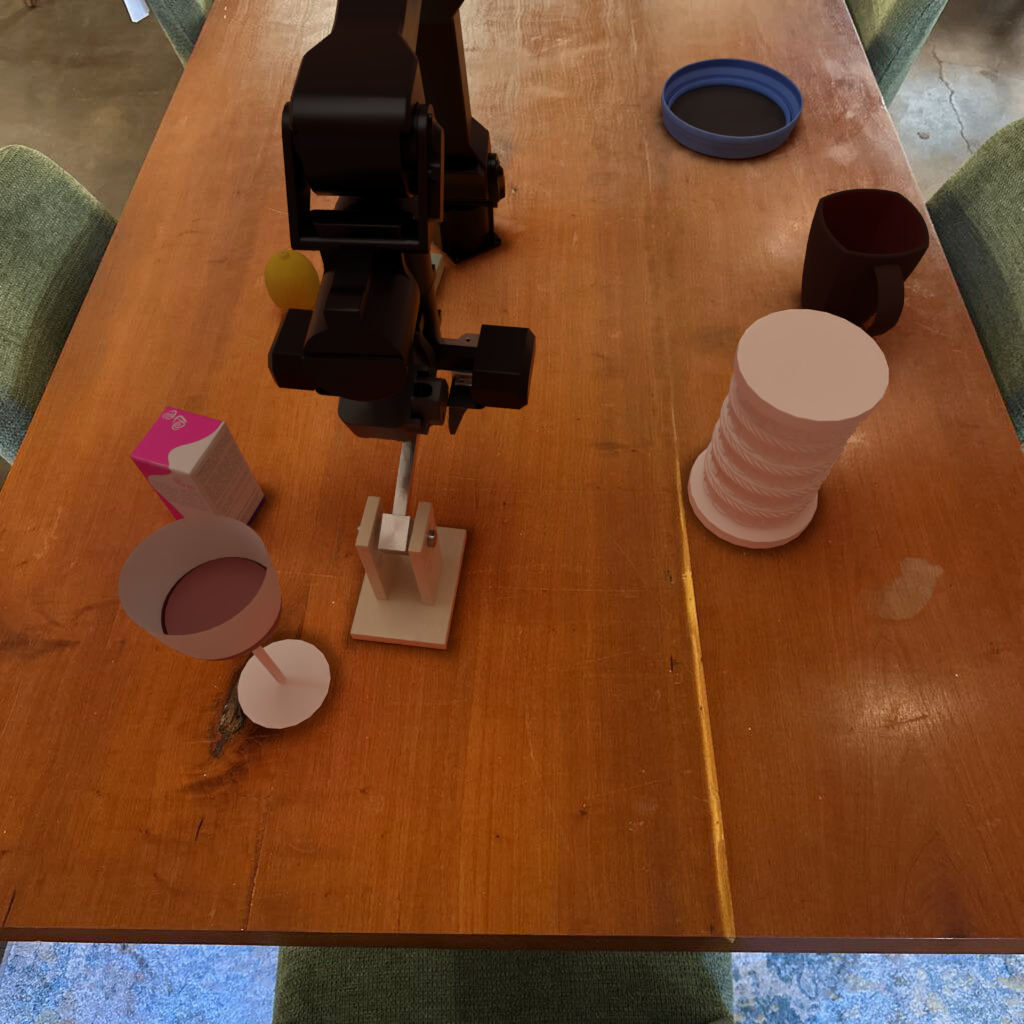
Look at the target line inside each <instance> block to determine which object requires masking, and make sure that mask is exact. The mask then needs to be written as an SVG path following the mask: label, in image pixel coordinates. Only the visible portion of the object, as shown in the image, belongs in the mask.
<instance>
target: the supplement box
mask: <svg viewBox="0 0 1024 1024" xmlns="http://www.w3.org/2000/svg"><path fill="white" fill-rule="evenodd" d="M129 458H130V459H131V461H132V462H133V463H134V465H135V466H136V467H137V470H139V472H140V473H141V474H142V476H143V477H144V478H145V480H146V481H147V482H148V484H149V485H150V486H151V488H152V489H153V491H154V492H155V493H156V495H157V496H158V497H159V499H160V500H161V501H162V503H163V504H164V505H165V507H166V508H167V509H168V511H169V512H170V514H171V515H172V516H173V518H174V519H175V521H177V520H179V519H183V518H187V517H191V516H198V515H219V516H226V517H230V518H233V519H236V520H238V521H241V522H243V523H244V524H246V525H247V526H249V527H250V525H251V523H252V522H253V520H254V518H255V517H256V515H257V513H258V512H259V510H260V508H261V507H262V505H263V504H264V502H265V500H266V496H265V495H264V492H263V491H262V488H261V487H260V484H259V482H258V481H257V479H256V477H255V476H254V473H253V471H252V470H251V468H250V466H249V464H248V462H247V460H246V459H245V456H244V454H243V453H242V451H241V449H240V447H239V445H238V443H237V441H236V440H235V437H234V436H233V434H232V432H231V430H230V428H229V427H228V424H227V422H226V421H223V420H220V419H216V418H213V417H210V416H206V415H201V414H198V413H194V412H191V411H187V410H185V409H184V410H183V409H180V408H176V407H172V406H168V405H167V406H166V407H165V409H164V410H163V411H162V412H161V413H160V415H159V416H158V418H157V419H156V421H155V422H154V423H153V424H152V426H151V428H150V429H149V430H148V431H147V432H146V434H145V435H144V437H143V438H142V439H141V440H140V442H139V443H138V444H137V445H136V446H135V448H134V449H133V450H132V452H131V453H130V454H129Z"/></svg>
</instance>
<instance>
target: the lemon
mask: <svg viewBox="0 0 1024 1024" xmlns="http://www.w3.org/2000/svg"><path fill="white" fill-rule="evenodd" d="M264 268H265V269H264V283H265V287H266V290H267V293H268V296H269V298H270V299H271V301H272V302H273V303H274V305H275V306H276V307H277V308H279V309H280V310H281V311H283V312H284V313H286V311H287V310H288V309H289V308H295V309H307V310H313V309H314V306H315V303H316V299H317V295H318V291H319V288H320V284H321V281H320V276H319V274H318V272H317V270H316V268H315V266H314V265H313V262H312V261H311V260H310V259H309V258H308V257H307V256H306V255H305V254H304V253H302V252H301V251H300V252H299V251H298V250H292V249H282V250H279V251H276V252H275V253H273V255H271V256H270V257H269V259H268V260H267V262H266V264H265V267H264Z"/></svg>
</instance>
